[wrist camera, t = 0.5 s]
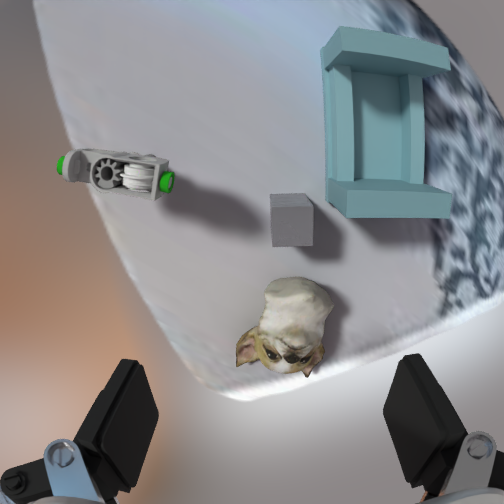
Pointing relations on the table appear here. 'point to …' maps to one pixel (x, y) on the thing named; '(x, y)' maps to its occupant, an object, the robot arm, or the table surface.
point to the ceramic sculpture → (288, 327)
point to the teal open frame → (379, 124)
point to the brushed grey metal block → (291, 220)
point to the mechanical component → (118, 172)
